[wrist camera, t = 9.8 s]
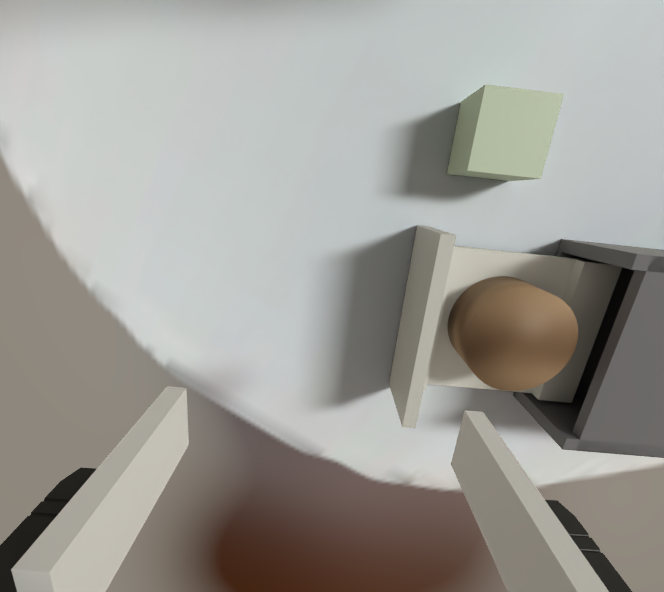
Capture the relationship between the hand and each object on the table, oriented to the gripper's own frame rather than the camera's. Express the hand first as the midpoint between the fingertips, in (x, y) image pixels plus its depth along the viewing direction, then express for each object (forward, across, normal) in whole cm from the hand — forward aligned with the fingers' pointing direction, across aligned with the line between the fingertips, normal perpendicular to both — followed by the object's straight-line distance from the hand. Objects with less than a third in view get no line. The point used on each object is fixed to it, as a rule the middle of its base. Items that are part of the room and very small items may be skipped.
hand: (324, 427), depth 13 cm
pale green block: (+16, +11, +14) cm, 24 cm away
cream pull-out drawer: (+16, +14, 0) cm, 21 cm away
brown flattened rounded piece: (+14, +14, 0) cm, 20 cm away
